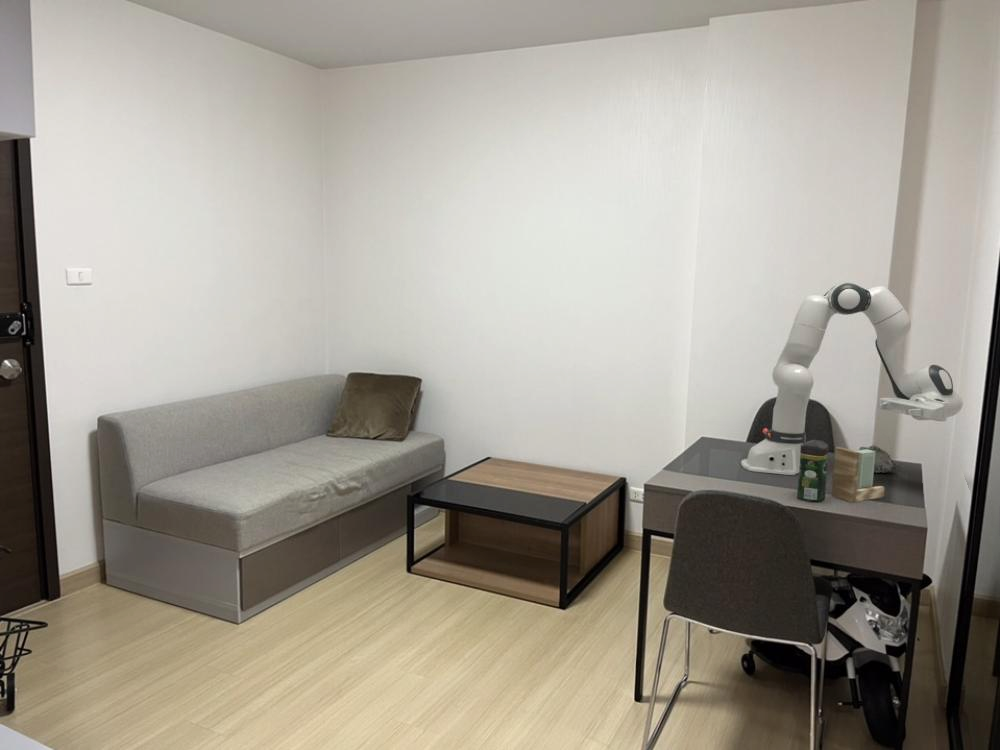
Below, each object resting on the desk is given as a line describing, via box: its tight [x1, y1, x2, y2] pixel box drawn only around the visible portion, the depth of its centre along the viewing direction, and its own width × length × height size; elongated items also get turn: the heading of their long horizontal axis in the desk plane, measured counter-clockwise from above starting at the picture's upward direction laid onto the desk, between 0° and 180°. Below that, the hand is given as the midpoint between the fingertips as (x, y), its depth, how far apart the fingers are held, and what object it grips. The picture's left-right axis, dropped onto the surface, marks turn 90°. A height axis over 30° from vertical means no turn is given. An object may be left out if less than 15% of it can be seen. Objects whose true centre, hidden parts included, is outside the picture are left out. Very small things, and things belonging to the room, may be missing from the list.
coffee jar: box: [796, 439, 829, 502], centre depth 242 cm, size 10×8×19 cm
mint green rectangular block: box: [855, 449, 875, 490], centre depth 246 cm, size 6×3×14 cm, turn 115°
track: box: [831, 446, 886, 503], centre depth 245 cm, size 15×8×16 cm, turn 115°
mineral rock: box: [858, 444, 900, 474], centre depth 274 cm, size 13×11×10 cm
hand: (894, 409), depth 248 cm, fingers open, 8 cm apart
